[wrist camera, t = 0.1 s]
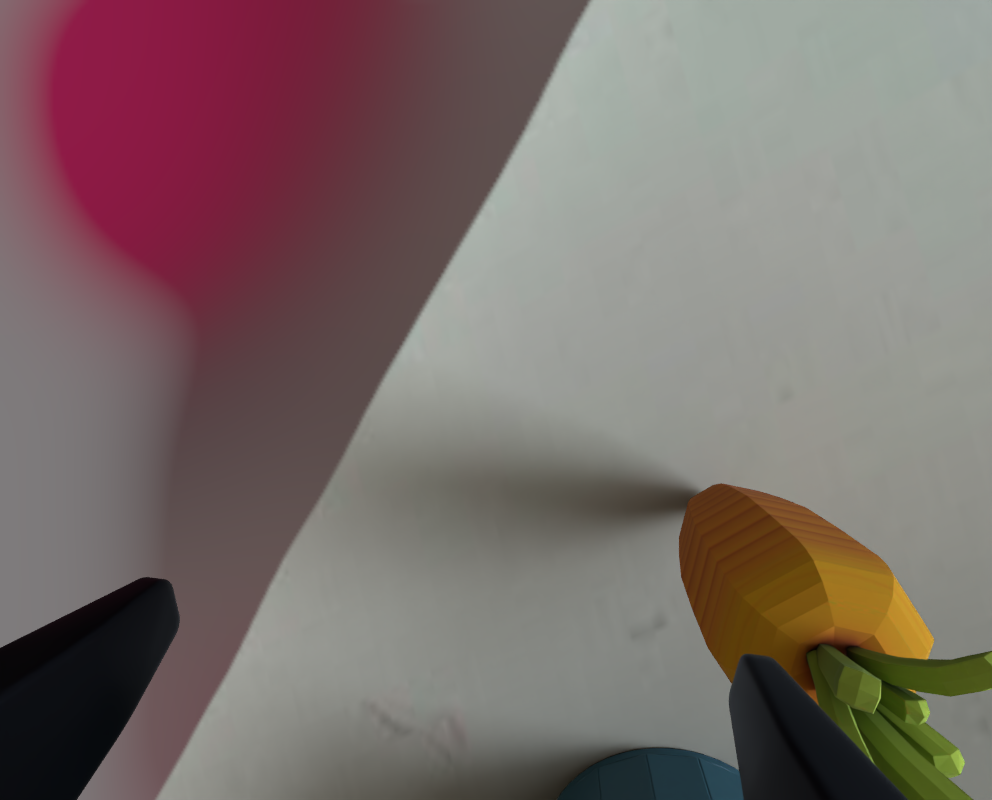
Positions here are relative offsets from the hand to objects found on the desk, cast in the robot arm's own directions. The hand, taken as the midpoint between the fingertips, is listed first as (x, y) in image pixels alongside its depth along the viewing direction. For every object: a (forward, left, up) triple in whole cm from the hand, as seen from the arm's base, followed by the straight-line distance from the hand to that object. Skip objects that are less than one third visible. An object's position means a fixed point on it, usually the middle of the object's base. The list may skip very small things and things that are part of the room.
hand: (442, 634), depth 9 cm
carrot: (+4, -8, -16) cm, 18 cm away
